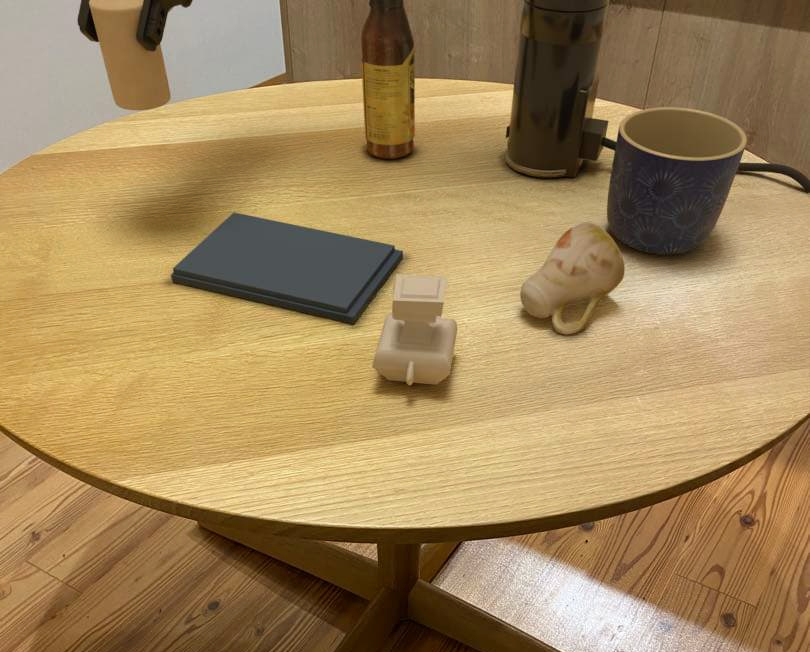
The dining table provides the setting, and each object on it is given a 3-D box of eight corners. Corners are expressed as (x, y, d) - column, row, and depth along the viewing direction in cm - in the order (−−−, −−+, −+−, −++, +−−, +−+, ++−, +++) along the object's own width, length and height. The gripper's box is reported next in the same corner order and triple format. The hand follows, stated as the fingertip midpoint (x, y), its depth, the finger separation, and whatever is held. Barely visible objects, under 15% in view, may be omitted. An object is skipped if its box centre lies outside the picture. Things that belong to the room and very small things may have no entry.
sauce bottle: (422, 156, 99) (426, -35, 84) (375, 164, 97) (370, -29, 82) (402, 136, 103) (403, -50, 88) (357, 143, 101) (350, -45, 86)
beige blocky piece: (386, 338, 74) (385, 254, 68) (457, 344, 73) (462, 260, 67) (370, 399, 68) (367, 314, 62) (447, 406, 68) (452, 321, 61)
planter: (727, 226, 88) (761, 122, 80) (693, 277, 81) (727, 170, 73) (621, 198, 92) (643, 97, 84) (580, 245, 85) (600, 140, 77)
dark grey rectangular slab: (403, 257, 83) (403, 245, 82) (353, 324, 75) (353, 311, 74) (235, 222, 88) (233, 210, 87) (172, 282, 80) (169, 269, 79)
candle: (112, 92, 80) (82, -26, 72) (168, 86, 81) (144, -31, 73) (116, 114, 76) (85, -8, 69) (174, 107, 78) (149, -13, 70)
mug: (494, 310, 77) (528, 203, 74) (563, 326, 83) (598, 227, 79) (544, 330, 72) (583, 216, 68) (614, 346, 78) (653, 241, 74)
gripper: (64, -192, 69) (24, 7, 71) (207, -180, 66) (161, 28, 68) (116, -126, 77) (78, 53, 78) (247, -112, 73) (204, 74, 75)
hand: (117, 41), depth 73 cm, fingers closed on candle, 5 cm apart
